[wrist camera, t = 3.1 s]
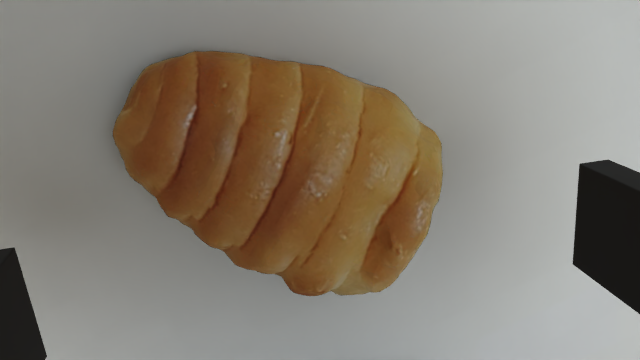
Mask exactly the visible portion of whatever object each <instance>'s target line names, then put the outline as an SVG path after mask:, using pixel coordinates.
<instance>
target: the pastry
mask: <svg viewBox="0 0 640 360" xmlns="http://www.w3.org/2000/svg"><path fill="white" fill-rule="evenodd" d="M113 138H114V141H115V144H116V146H117V147H118V149H119V151H120V154H121V157H122V159H123V160H124V163H125V167H126V170H127V171H128V173H129V175H130V176H131V177H132V178H133V179H134V180H135V181H136V182H138V183H139V184H141V185H142V186H143V187H144V188H145V189H146V190H147V191H148V192H149V193H150V194H152V195H153V196H155V197H156V198H157V201H158V203H159V204H160V206H161V208H162V209H163V210H164V212H165V213H166V215H167V216H168V217H171V218H175V219H177V220H179V221H180V222H181V223H182V224H184V225H186V226H188V227H190V228H191V229H192V230H193V231H194V233H195V234H196V235H197V236H198V237H199V238H200V239H201V240H202V241H203V242H205V243H206V244H207V245H209V246H210V247H214V248H217V249H220V250H222V251H223V252H225V253H226V255H227V256H228V257H229V258H230V259H231V260H232V261H233V263H234V264H235V265H237V266H239V267H242V268H245V269H249V270H255V271H257V272H261V273H265V274H277V275H279V276H281V277H282V278H283V279H284V281H285V283H286V284H287V286H288V287H289V289H290V290H291V291H292V292H294V293H297V294H301V295H306V296H318V295H322V294H324V293H327V292H329V291H332V292H334V293H335V294H338V295H355V294H365V293H368V292H380V291H382V290H384V289H385V288H387V287H389V286H390V285H391V284H392V283H393V282H394V281H395V280H396V279H397V278H398V276H399V274H400V273H401V272H402V271H403V270H404V269H405V268H406V266H407V265H408V263H409V262H410V260H411V259H412V258H413V256H414V255H415V253H416V251H417V249H418V248H419V246H420V245H421V243H422V242H423V240H424V239H425V237H426V236H427V234H428V230H429V227H430V223H431V216H432V212H433V209H434V207H435V206H436V204H437V202H438V201H439V196H440V192H441V186H442V176H443V170H442V158H441V151H442V146H441V142H440V140H439V138H438V136H437V135H436V133H435V132H434V131H433V130H432V129H430V128H428V127H427V126H425V125H424V124H423V123H421V122H420V121H419V120H418V119H416V118H415V116H414V115H413V114H412V112H411V111H410V109H409V108H408V107H407V106H406V105H405V104H404V103H403V102H402V101H401V100H400V99H399V98H398V97H397V96H396V95H395V94H393V93H392V92H390V91H388V90H386V89H384V88H380V87H376V86H372V85H368V84H364V83H362V82H360V81H358V80H356V79H353V78H350V77H346V76H344V75H343V74H341V73H339V72H337V71H335V70H333V69H331V68H327V67H324V66H318V65H307V64H301V63H297V62H292V61H275V60H269V59H265V58H261V57H252V56H248V55H245V54H241V53H227V52H218V51H206V52H199V51H194V52H191V53H188V54H185V55H183V56H180V57H174V58H169V59H166V60H163V61H160V62H157V63H154V64H151V65H150V66H148V67H147V68H145V69H144V70H143V71H142V73H141V74H140V75H139V77H138V79H137V81H136V82H135V84H134V85H133V87H132V88H131V90H130V93H129V95H128V98H127V100H126V103H125V105H124V107H123V109H122V111H121V112H120V114H119V116H118V118H117V120H116V122H115V126H114V129H113Z"/></svg>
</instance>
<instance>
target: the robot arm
mask: <svg viewBox="0 0 640 360" xmlns="http://www.w3.org/2000/svg"><path fill="white" fill-rule="evenodd" d="M573 265H575V266H576V267H577V268H579V269H580V270H581V271H583V272H584V273H585V274H587V275H588V276H589V277H591V278H592V279H593V280H595V281H596V282H597V283H599V284H600V285H601V286H603V287H604V288H606V289H607V290H608V291H610V292H611V293H612V294H614V295H615V296H616V297H618V298H619V299H620V300H622V301H623V302H624V303H626V304H627V305H628V306H630V307H631V308H632V309H634V310H635V311H636V312H638V313H639V314H640V173H639V172H637V171H634V170H632V169H629V168H627V167H625V166H622V165H620V164H617V163H615V162H612V161H610V160H603V161H596V162H589V163H582V164H580V166H579V181H578V195H577V210H576V225H575V239H574V254H573ZM46 357H47V355H46V351H45V348H44V345H43V341H42V338H41V335H40V331H39V328H38V325H37V321H36V318H35V314H34V311H33V308H32V304H31V301H30V298H29V294H28V291H27V288H26V284H25V281H24V278H23V274H22V271H21V267H20V264H19V261H18V257H17V254H16V251H15V247H14V248H7V249H1V250H0V360H45V359H46Z"/></svg>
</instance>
